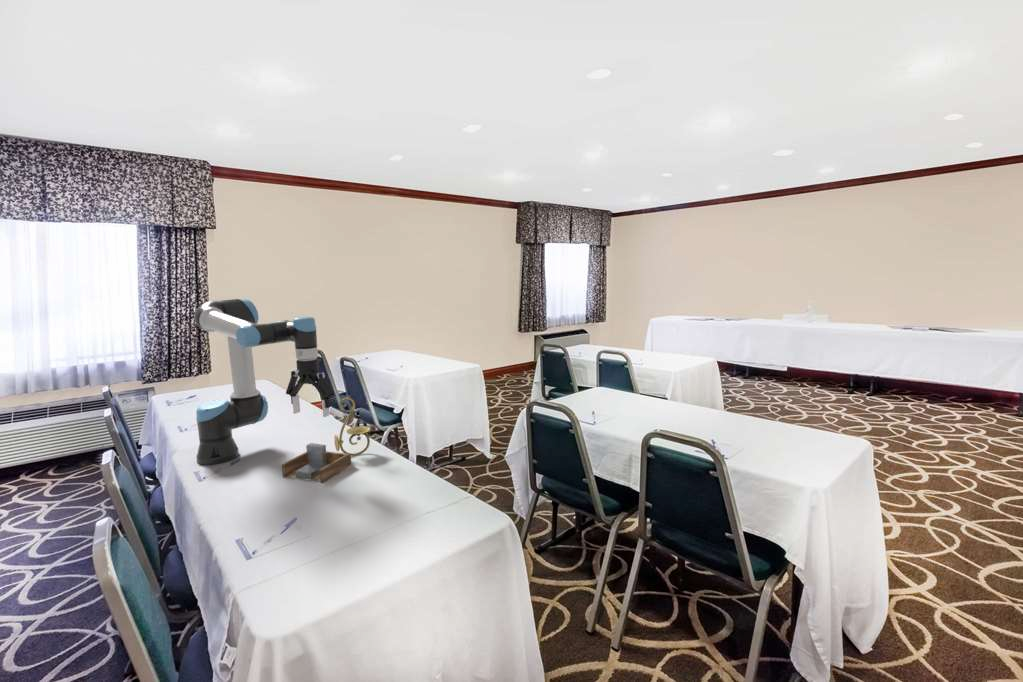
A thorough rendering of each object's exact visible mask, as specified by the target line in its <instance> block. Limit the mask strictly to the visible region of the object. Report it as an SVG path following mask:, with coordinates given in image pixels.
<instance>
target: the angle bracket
mask: <svg viewBox="0 0 1023 682" xmlns="http://www.w3.org/2000/svg"><path fill="white" fill-rule="evenodd" d="M305 447H306V452H307V459H308V465H306V466H304V467H302V468H300V469H298V470H296V471H295V472H296V477H298V478H305V479H313V478H315V477H316V476H318V475H320V471H319V470H320V469H321V468H323V467H325V466H327V455H326V451H327V446H326V444H322V443H321V444H320V443H308V444H306V445H305ZM298 478H297V479H298ZM305 479H304V480H305Z"/></svg>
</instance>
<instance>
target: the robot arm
mask: <svg viewBox="0 0 1023 682" xmlns="http://www.w3.org/2000/svg"><path fill="white" fill-rule="evenodd" d="M193 318H194V323H195V324H196V325H197V326H198V327H199V329H201V330H203V331H206V332H211V333H213V332H216V333H219V334H222V335H224V336H226V337H227V345H228V346H227V347H228V353H229V362H230V364H229V365H230V372H231V379H232V380H231V381H232V388H233V392H232V393H231V394H230V396H229V397H230V401H228V400H227V399H226V398H225V399H224V398H222V399H221V398H220V399H217V400H214V399H213V400H211V401H207V402H205V403H203V404H201V405H200V406H198V407H197V409H196V414H195V415H196V418H195V420H196V422H197V423H196V424H197V431H198V439H199V445H198V450H197V454H196V463H197V464H199V465H216V464H217V465H218V464H222V463H226V462H229V461H231V460H234V459H235V458H237V457H239V455H240V451H239V447H238V446H237V443H236V442H235V439H234V438H233V431H232V430H234V429H238V428H242V427H246V426H249V425H255V424H257V423H259V422H262V421H264V420H265V419H266V417H267V415H268V412H269V405H268V404H269V403H268V400H267V398H266V396H265V395H264V394H261V391H260V390H258V389H257V383H256V377H255V367H254V357H253V348H255V347H258V346H265V345H273V344H279V343H285V342H294V347H295V358H296V359H297V360H296V361H295V364H296V369H295V370H292V371H290V379H289V383H288V384H287V388H286V390H285V394H286V395H289V397H290V400H291V401H290V402H291V403H290V404H291V405H292V412H293V413H292V414H293V415H294V414H298V413H300V412H301V405H300V395H299V392H300V391H301V389H302V387H303V386H304V385H307V384H308V385H311V386H313V387H314V388H315V390H316V391H317V392H318V393H319V394H320V396H321V397H322V400H321V405H322V418H326V417H328V416H330V413H331V412H330V407H331V399H332V398H334V397H335V392H334V391H333V389H332V387H331V385H330V382H329V381H328V377H327V374H326V372H325V371H323V372H319V368H320V366H319V364H320V363H319V358H318V357H319V352H318V339H317V338H318V337H317V326H316V319H315V318H314V317H313V316H298V317H294V318H293V320H288V319H287V320H285V319H284V320H279V321H277V322H270V323H268V322H267V323H260V324H258V322H259V312H258V309H257V307H256V305H255V304H254V303H253V302H252V301H251V300H249V299H247V298H232V299H223V300H210V301H206V302H204V303H202V304H200V305H199V306H198V307H197V308H196V310H195V312H194V315H193Z"/></svg>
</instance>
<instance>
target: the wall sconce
mask: <svg viewBox="0 0 1023 682" xmlns="http://www.w3.org/2000/svg"><path fill="white" fill-rule="evenodd" d="M346 400H347V401H350V402H351V404H352V408H351V411H350V412H349V414H348V416H347V417H346V418H345V420H344V422H343V423H342V426H341V429H340V432H339V435H338V434H334V437H333V438H334V446H335V450H336V452H339V451H340V450H341V453H345V454H348V453H350V454H351V457H353V456H355V457H356V456H359V455H361V454H363V453H365V452H366V451H367V450H368V449H369V447H370V444H371V443H370V441H371V440H370V439H371V438H370V436H369V435H368V432H370V431H371V427H370V426H365V425H361V426H360V425H359V426H354V427H351V428H348V429H346V431H345V432H346V433H347V434H349V435H350V437H349V438H348V442H349V444H350V445H351V446H355V445H357V444H358V442H356V441H354V442H353V441H352V439H353V438H354V437H356V436H357V437H356V439H357V441H361V439H362V437H361V435H364V436H365V437H366V441H367V442H366V445H365V448H364V449H362V450H360V451H359V452H356V453H355V452H354V453H351V452H347V450H345V449H344V447H343V444H344V440H343V439H342V438H343V435H344V434H343V433H344V429H345V427H346V425H347V423H348V422H349V419H350V418H351V417H352V415H353V414H354V412H355V410H356V403H355V401H354V399H352V398H351V397H344V398H341V400H340V401H339V407H340V408H343V409H344V408H345V407H347V404H346V403H345V404H342V403H343V402H345V401H346Z"/></svg>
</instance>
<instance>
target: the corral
mask: <svg viewBox="0 0 1023 682" xmlns="http://www.w3.org/2000/svg"><path fill="white" fill-rule="evenodd" d="M350 453H351V452H348V454H345V453H343V452H338V451H336V452H335V451H328V450H326V455H327V466H325V467H323V468H321V469H320V470H319V471H320V475H318V476H316V477H315V478H313V479H305V478H298V477H296V472H295V471H296V470H298V469H300V468H302V467H304V466H306V465H308V459H307V451H305V452H303V453H301V454H299V455H297V456H295V457H294V458H291V459H289V460H288V461H285V462H283V463H282V464H281V471H282V478H292V479H299V480H304V481H305V480H306V481H313V482H320V483H319V484H325V483H326V482H327V481H329V480H331V479H333V478H334V477H336V476H337V475H339V474H340V473H342V472H344V471H346V470H347V469H349V468H350V467H352V456H351V454H350Z"/></svg>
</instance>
